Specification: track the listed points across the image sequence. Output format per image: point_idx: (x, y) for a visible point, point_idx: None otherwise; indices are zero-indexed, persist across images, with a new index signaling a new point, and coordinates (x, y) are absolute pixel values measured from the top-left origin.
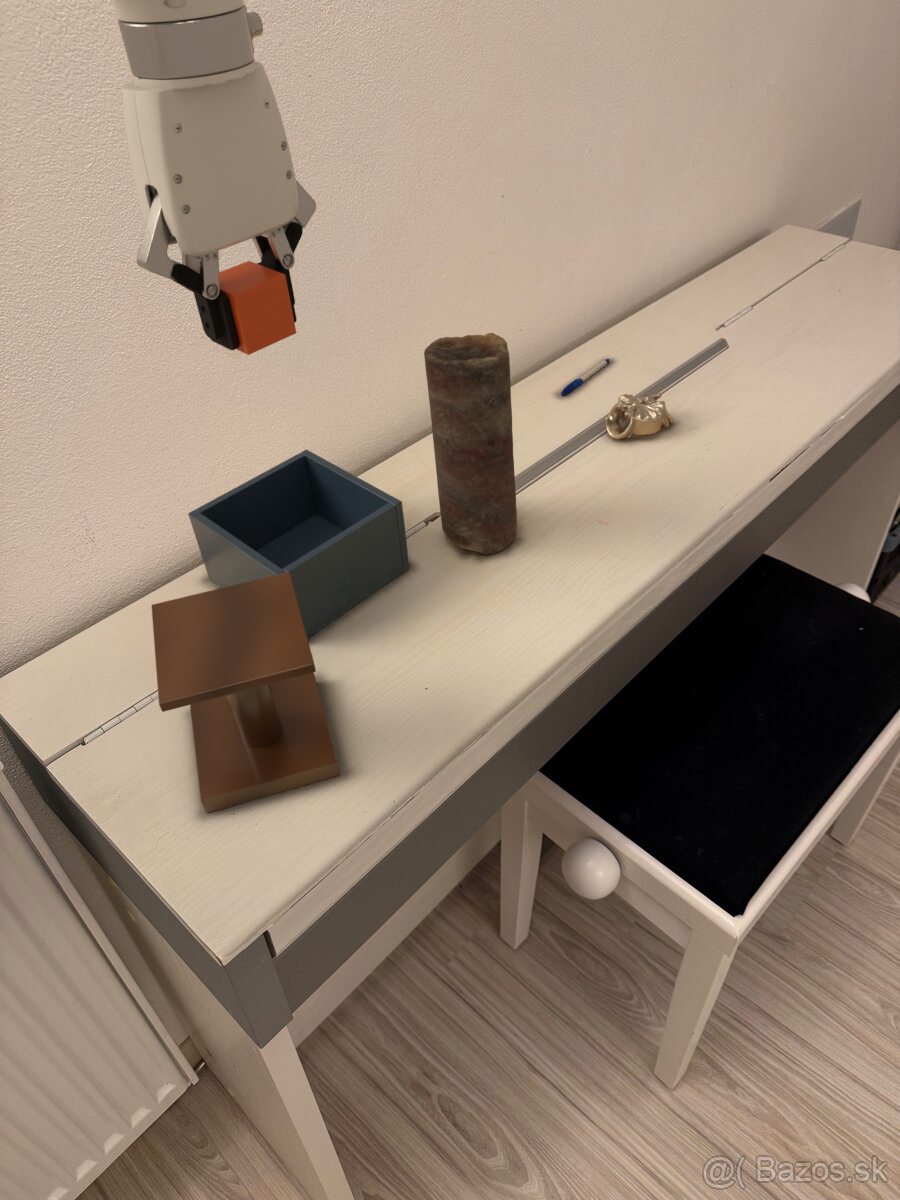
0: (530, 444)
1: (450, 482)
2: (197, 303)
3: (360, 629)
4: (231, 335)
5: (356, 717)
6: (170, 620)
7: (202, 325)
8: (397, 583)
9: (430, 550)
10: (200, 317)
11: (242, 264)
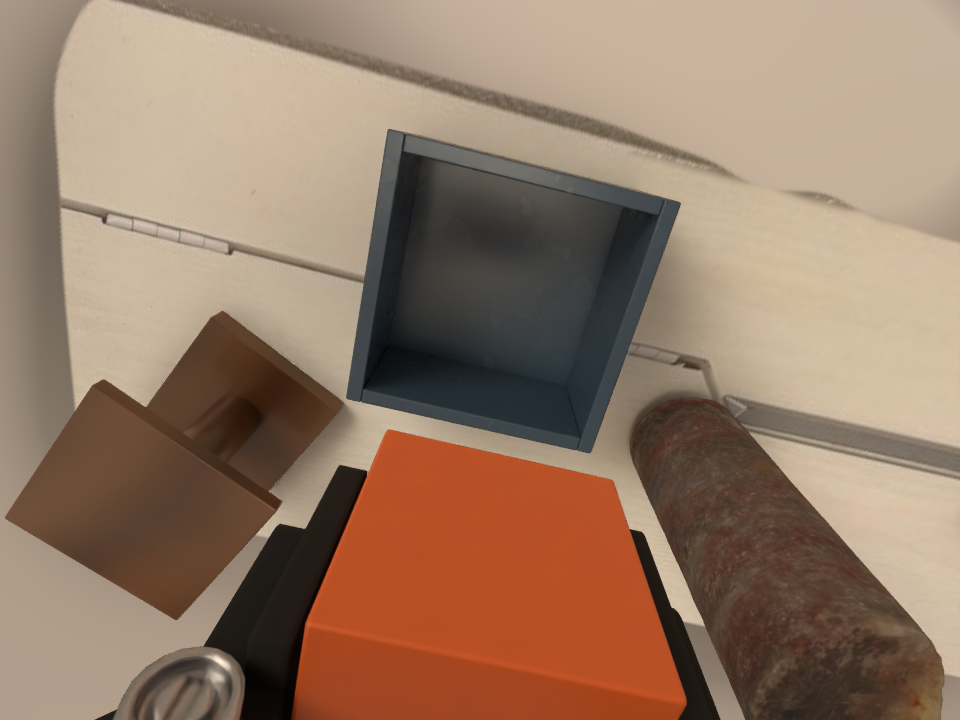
0: (937, 402)
1: (661, 498)
2: (217, 630)
3: None
4: None
5: (331, 465)
6: (94, 433)
7: (269, 539)
8: None
9: (619, 397)
10: (249, 571)
11: (616, 707)
